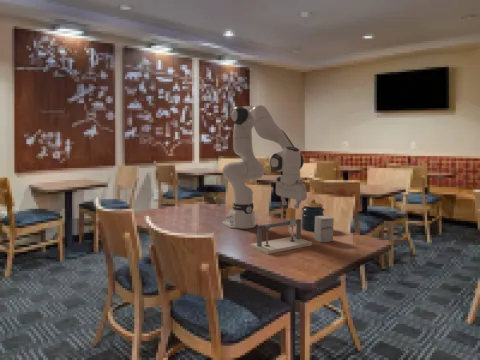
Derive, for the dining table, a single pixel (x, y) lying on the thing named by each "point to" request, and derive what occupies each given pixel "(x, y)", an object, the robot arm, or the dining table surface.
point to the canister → (311, 214)
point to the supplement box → (323, 228)
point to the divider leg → (291, 218)
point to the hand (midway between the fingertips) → (290, 206)
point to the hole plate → (281, 243)
